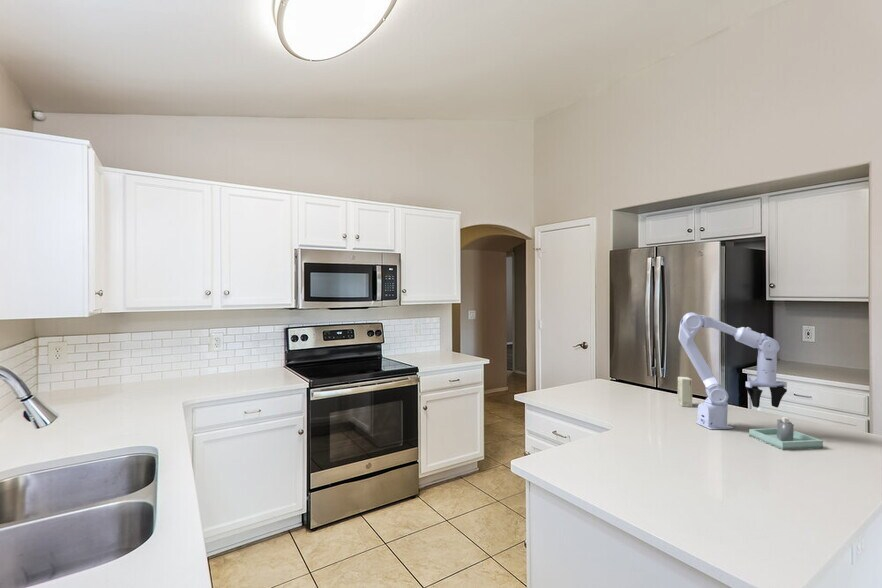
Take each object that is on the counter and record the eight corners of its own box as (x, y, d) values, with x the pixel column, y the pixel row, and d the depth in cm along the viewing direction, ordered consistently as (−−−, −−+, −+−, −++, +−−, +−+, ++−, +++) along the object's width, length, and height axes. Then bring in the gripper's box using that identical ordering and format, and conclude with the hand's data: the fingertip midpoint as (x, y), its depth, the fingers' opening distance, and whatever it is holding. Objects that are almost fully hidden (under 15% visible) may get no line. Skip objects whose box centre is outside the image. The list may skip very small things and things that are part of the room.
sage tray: (782, 450, 142) (782, 442, 142) (749, 436, 155) (749, 429, 155) (822, 448, 144) (822, 440, 144) (786, 434, 157) (786, 427, 157)
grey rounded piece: (782, 442, 147) (782, 419, 147) (775, 435, 153) (775, 414, 153) (794, 443, 146) (795, 421, 146) (787, 437, 152) (787, 415, 152)
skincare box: (692, 407, 191) (693, 379, 191) (681, 406, 192) (682, 379, 192) (687, 403, 197) (687, 376, 197) (676, 402, 198) (677, 376, 198)
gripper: (775, 367, 163) (774, 403, 164) (739, 367, 162) (738, 403, 162) (792, 371, 156) (791, 409, 157) (754, 371, 155) (753, 409, 155)
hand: (765, 406), depth 159 cm, fingers open, 7 cm apart
